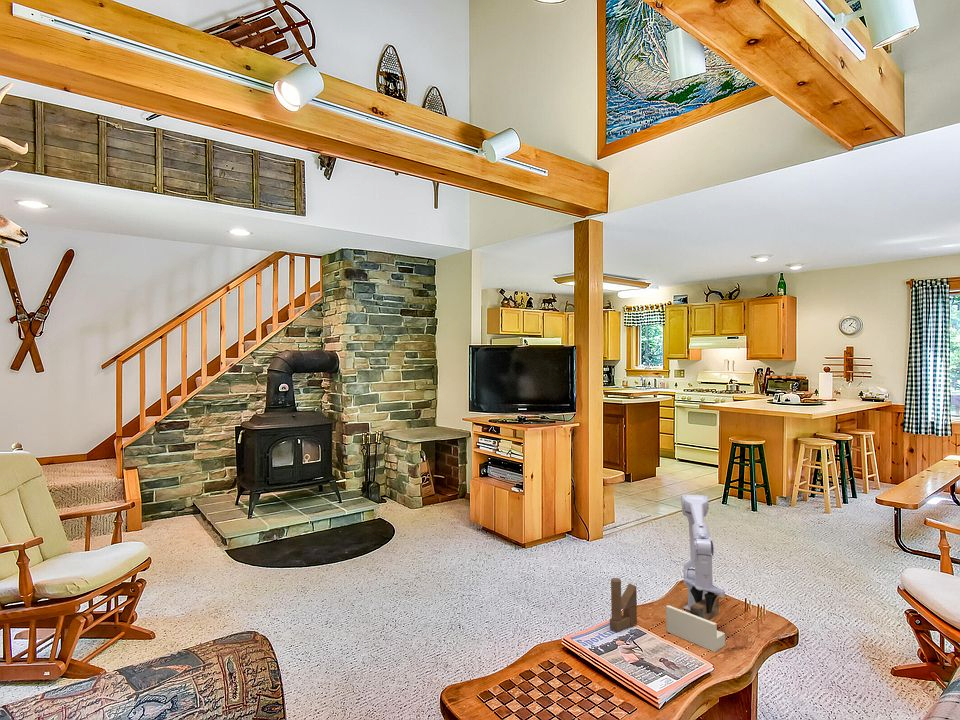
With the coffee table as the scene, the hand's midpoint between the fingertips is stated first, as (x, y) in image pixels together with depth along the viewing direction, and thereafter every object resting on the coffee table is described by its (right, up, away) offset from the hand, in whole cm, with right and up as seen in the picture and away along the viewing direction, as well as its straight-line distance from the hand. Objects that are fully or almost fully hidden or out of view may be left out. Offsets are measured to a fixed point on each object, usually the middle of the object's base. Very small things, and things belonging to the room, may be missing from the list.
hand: (704, 610), depth 189 cm
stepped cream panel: (-5, -8, -4) cm, 10 cm away
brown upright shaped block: (-28, -8, +5) cm, 29 cm away
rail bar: (0, -3, 0) cm, 3 cm away
